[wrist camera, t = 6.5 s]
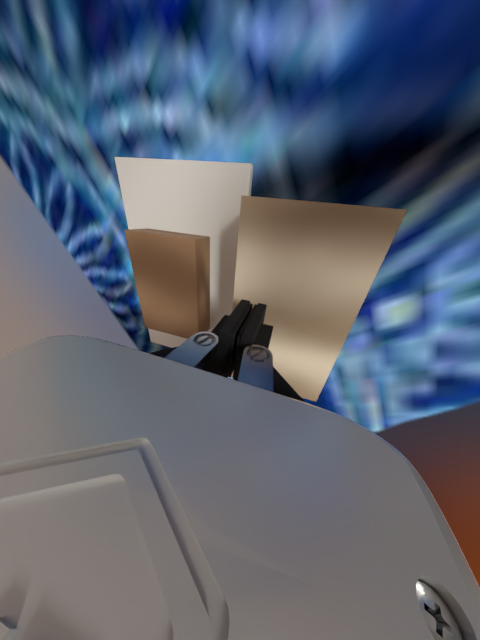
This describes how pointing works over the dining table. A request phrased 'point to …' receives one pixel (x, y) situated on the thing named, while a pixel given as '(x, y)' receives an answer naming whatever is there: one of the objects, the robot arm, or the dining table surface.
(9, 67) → the dining table surface
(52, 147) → the dining table surface
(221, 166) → the off-white mat
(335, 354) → the birch stand
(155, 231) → the walnut tile
